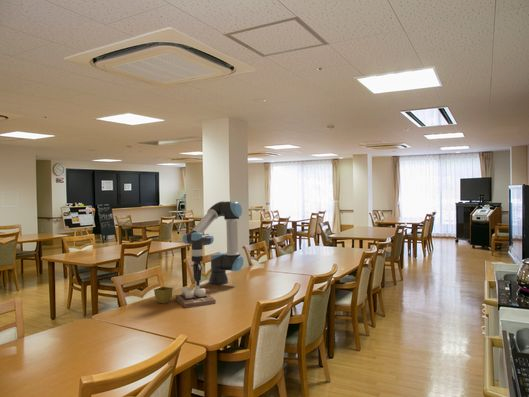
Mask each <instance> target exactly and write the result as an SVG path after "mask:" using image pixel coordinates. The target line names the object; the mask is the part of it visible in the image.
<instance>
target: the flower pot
mask: <svg viewBox="0 0 529 397" xmlns="http://www.w3.org/2000/svg"><path fill="white" fill-rule="evenodd" d="M173 290H174V288H173V287H167V286H160V287H158V288H154V289H153V291H154V292H153V294H154V297H155V298H154V299H155V300H156V302H157V303H159V304H166V303H169V302H170V301H171V299H172V296H173Z"/></svg>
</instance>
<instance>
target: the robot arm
mask: <svg viewBox="0 0 529 397" xmlns="http://www.w3.org/2000/svg"><path fill="white" fill-rule="evenodd" d="M242 213H243V207H242V205H241V204H240V202H238V201H218V202H216V203H215V204H213V205H211V207H210V208H209V209H208V210H207V211H206V214H205V215H204V216H203V217H202V218H201V219H200V220H199V222H198V223H196V225H195V226H194V227H193V228H192V230H191V231H190V232H188V233H184V234H183V235H182V242H183V243H184V244H186V245H191V251H190V253H191V262H193V264H192V270H193V271H192V272H193V279H194V290H197V289H199V288H201V287H200V284H201V283H200V281H201V279H202V269H203V267H202V264H201V262H203V261H204V258H203V254H204V252H203V251H204V250H203V248H204V247H203V246H208V245H212V244H213V243H214V239H215V238H214V235H212V234H211V233H206V234H205V233H204V232H206V230H207V229H208V228H209V227H210V225H211V224H212V223H213V222H214V221H215V220H217V219H218V218H220V217H223V219H224V221H225V222H226V252H221V253H214V254H211V256H210V276H209V278H208V284H210V285H225V284H228V283H229V279H228V275H227V272H226V271H230V272H239V271H240V270H241V269H242V268H243V265H244V258H243V256H241V253H240V252H239V239H238V238H239V234H238V231H239V230H238V221H239V219H240V217H241V216H242Z"/></svg>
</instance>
